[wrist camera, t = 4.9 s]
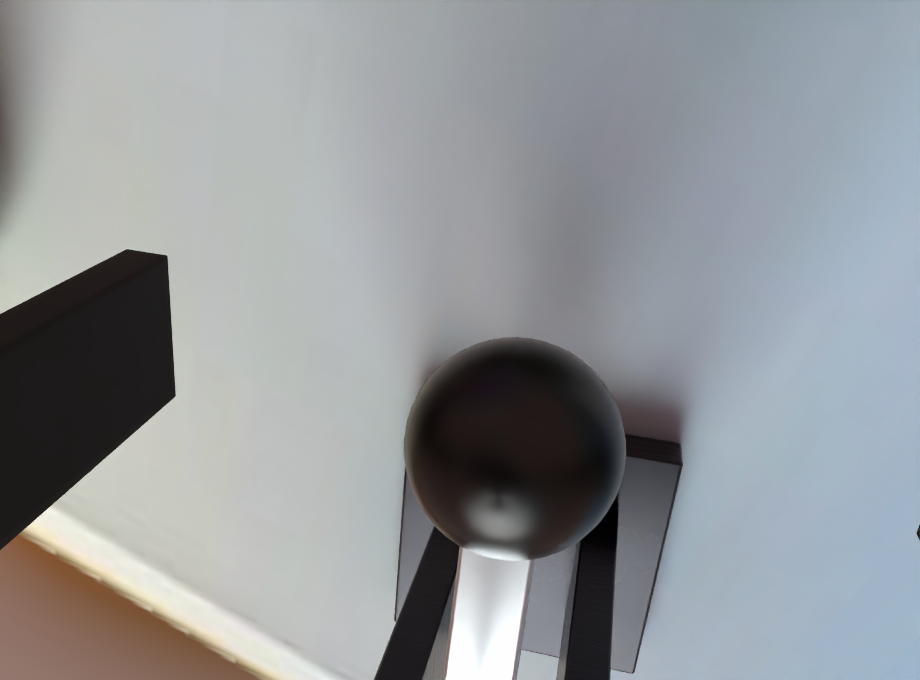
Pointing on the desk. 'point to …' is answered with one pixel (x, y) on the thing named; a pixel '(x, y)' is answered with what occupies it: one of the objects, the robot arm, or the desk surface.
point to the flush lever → (509, 481)
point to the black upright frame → (549, 580)
